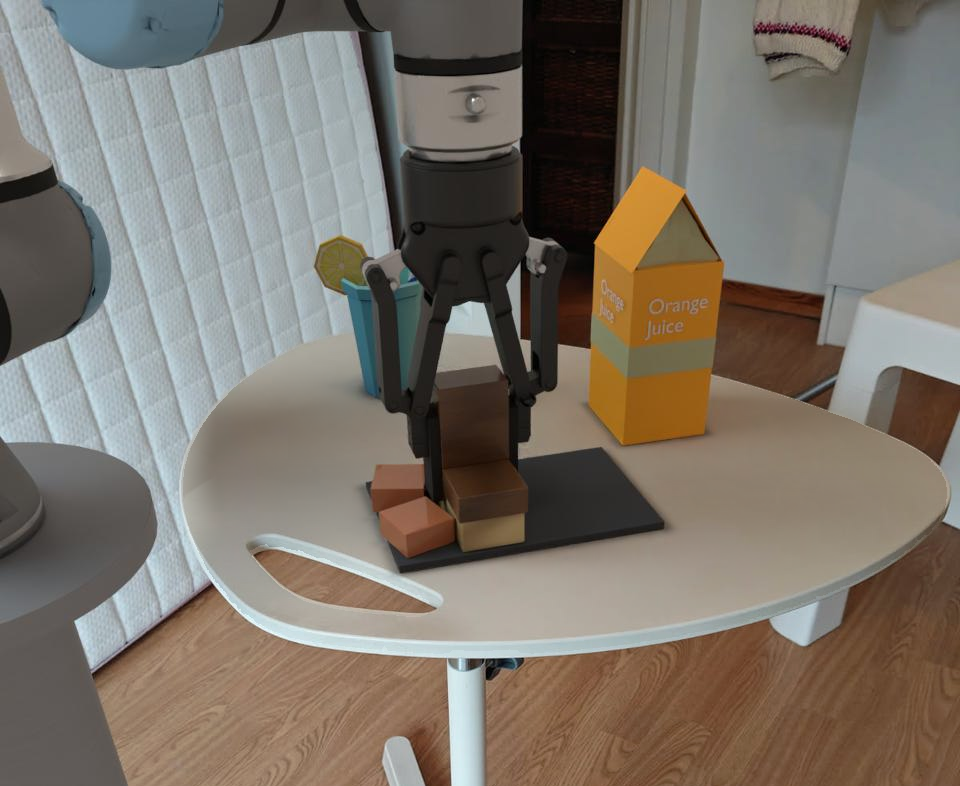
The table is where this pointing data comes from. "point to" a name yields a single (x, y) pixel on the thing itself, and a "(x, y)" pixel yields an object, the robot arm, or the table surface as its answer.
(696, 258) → the orange juice
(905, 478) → the table surface
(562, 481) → the mat
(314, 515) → the table surface
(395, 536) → the clay chunk
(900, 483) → the table surface
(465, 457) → the three-tone stepped block
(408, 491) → the clay chunk
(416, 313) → the cup
